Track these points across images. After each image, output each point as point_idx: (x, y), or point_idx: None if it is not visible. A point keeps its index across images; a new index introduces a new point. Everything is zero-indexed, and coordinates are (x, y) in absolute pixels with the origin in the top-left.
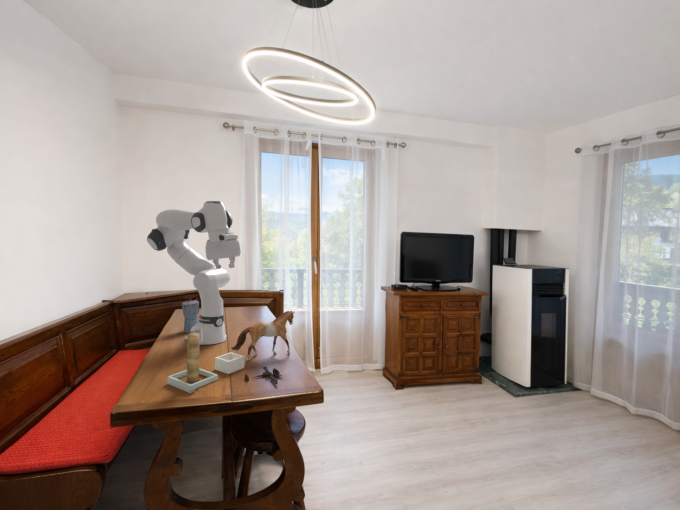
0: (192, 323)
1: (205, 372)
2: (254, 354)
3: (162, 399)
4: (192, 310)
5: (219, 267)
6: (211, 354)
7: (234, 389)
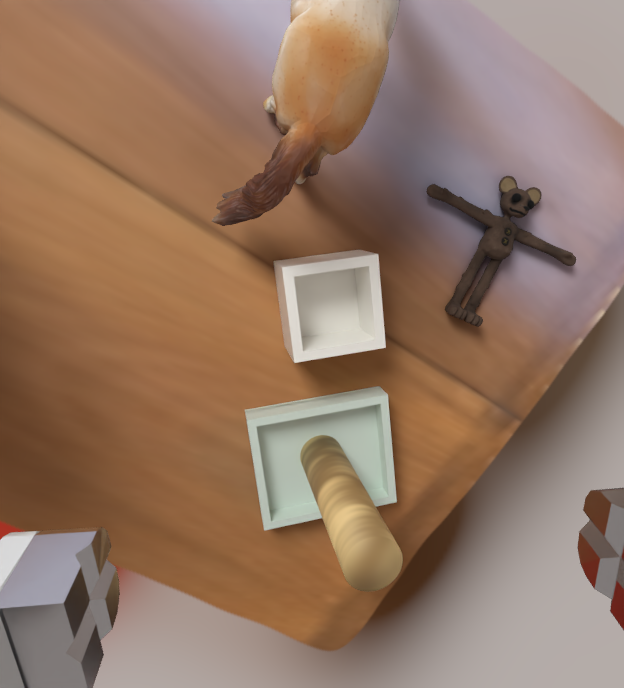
0: None
1: (324, 413)
2: (272, 112)
3: None
4: None
5: (95, 587)
6: (59, 243)
7: (471, 376)
